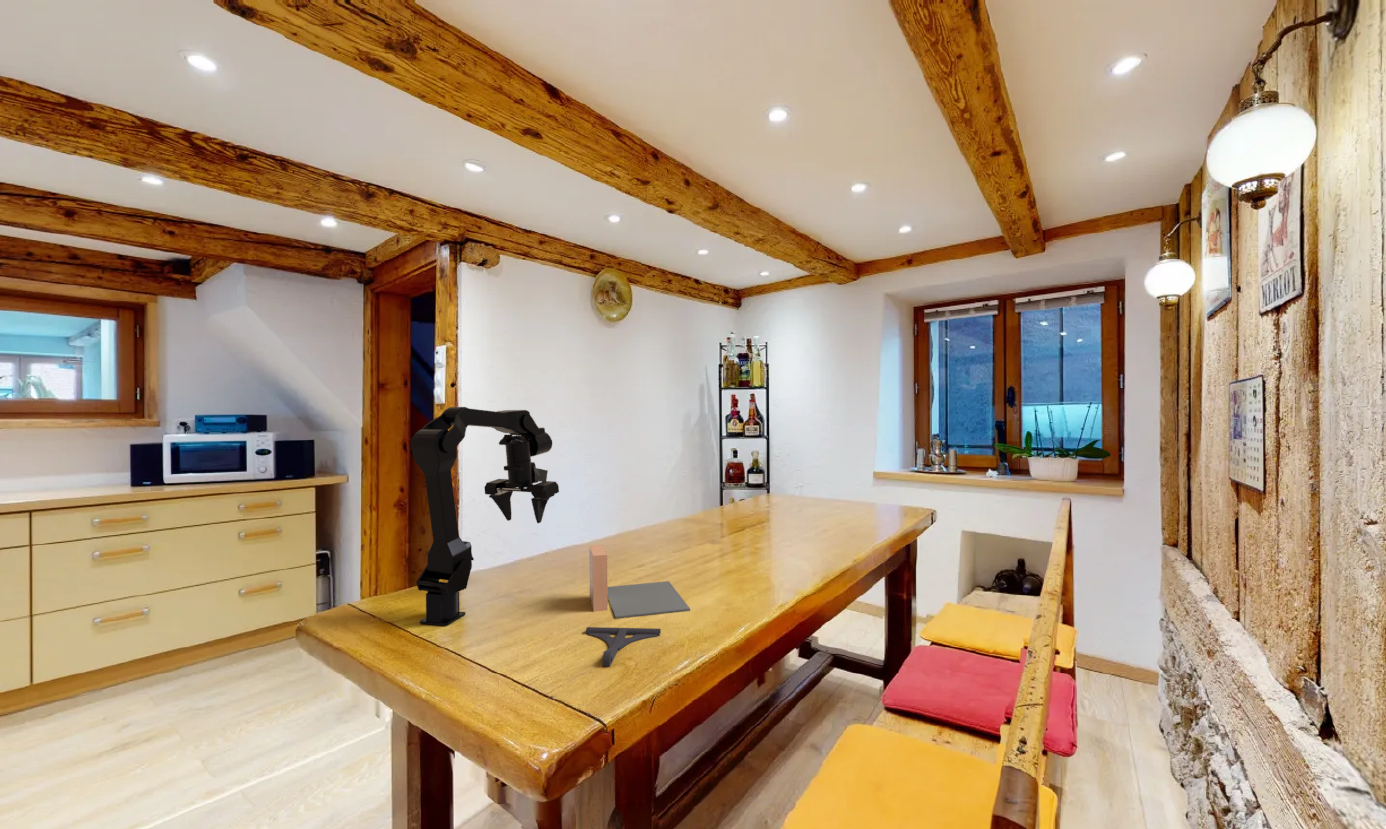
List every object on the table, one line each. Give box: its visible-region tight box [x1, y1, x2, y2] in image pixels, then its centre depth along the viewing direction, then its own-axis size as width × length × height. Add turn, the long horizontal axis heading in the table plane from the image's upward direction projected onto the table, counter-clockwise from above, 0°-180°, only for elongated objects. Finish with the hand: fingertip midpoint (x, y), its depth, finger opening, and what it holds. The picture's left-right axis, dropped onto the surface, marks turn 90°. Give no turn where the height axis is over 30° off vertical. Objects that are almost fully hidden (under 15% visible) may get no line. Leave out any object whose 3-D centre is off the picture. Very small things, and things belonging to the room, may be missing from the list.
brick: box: [588, 544, 609, 613], centre depth 124 cm, size 3×9×12 cm, turn 16°
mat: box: [607, 580, 691, 619], centre depth 127 cm, size 16×20×1 cm
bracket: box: [585, 626, 662, 668], centre depth 101 cm, size 14×15×3 cm
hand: (524, 521), depth 139 cm, fingers open, 9 cm apart
